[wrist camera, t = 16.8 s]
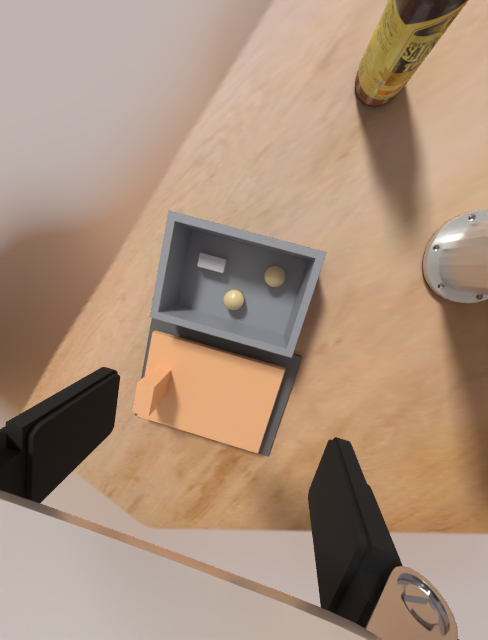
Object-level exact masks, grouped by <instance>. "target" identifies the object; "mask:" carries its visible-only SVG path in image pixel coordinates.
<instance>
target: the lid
mask: <svg viewBox="0 0 488 640" xmlns="http://www.w3.org/2000/svg"><path fill="white" fill-rule="evenodd" d="M284 372H285V368H284V367H280V366H277V365H273V364H270V363H266V362H263V361H260V360H256V359H253V358H249V357H246V356H242V355H239V354H235V353H232V352H228V351H225V350H222V349H218V348H215V347H211V346H208V345H204V344H201V343H197V342H194V341H190V340H187V339H184V338H180V337H177V336H173V335H170V334H166V333H163V332H159V331H156V330H155V331H153V332H152V337H151V343H150V348H149V354H148V359H147V365H146V370H145V376H144V377H143V378H142V379H141V380H140V381H138V383H137V389H136V394H135V400H134V406H133V413H137V414H138V415H137V416H138V417H141V418H144V419H147V420H151V421H154V422H157V423H160V424H164V425H167V426H170V427H173V428H177V429H180V430H183V431H186V432H190V433H193V434H196V435H199V436H203V437H206V438H209V439H212V440H216V441H219V442H222V443H225V444H229V445H232V446H235V447H238V448H242V449H245V450H248V451H251V452H255V453H258V451H259V448H260V445H261V442H262V439H263V436H264V433H265V430H266V427H267V424H268V421H269V418H270V415H271V412H272V409H273V406H274V402H275V399H276V396H277V393H278V390H279V387H280V384H281V381H282V378H283V375H284Z"/></svg>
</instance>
